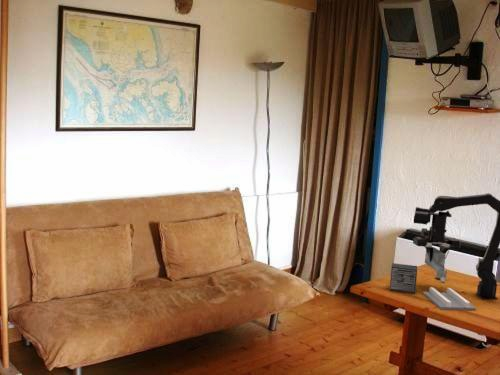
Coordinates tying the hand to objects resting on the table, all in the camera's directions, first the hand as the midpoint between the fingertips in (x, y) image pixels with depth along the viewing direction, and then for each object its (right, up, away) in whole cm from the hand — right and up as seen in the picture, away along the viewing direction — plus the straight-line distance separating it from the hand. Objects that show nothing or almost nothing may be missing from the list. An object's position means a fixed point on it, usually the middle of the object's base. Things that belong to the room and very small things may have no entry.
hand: (434, 262), depth 259 cm
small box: (-14, -12, -3) cm, 19 cm away
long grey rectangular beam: (0, -2, 0) cm, 2 cm away
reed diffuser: (+9, -10, +17) cm, 21 cm away
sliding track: (+1, -14, -15) cm, 21 cm away
